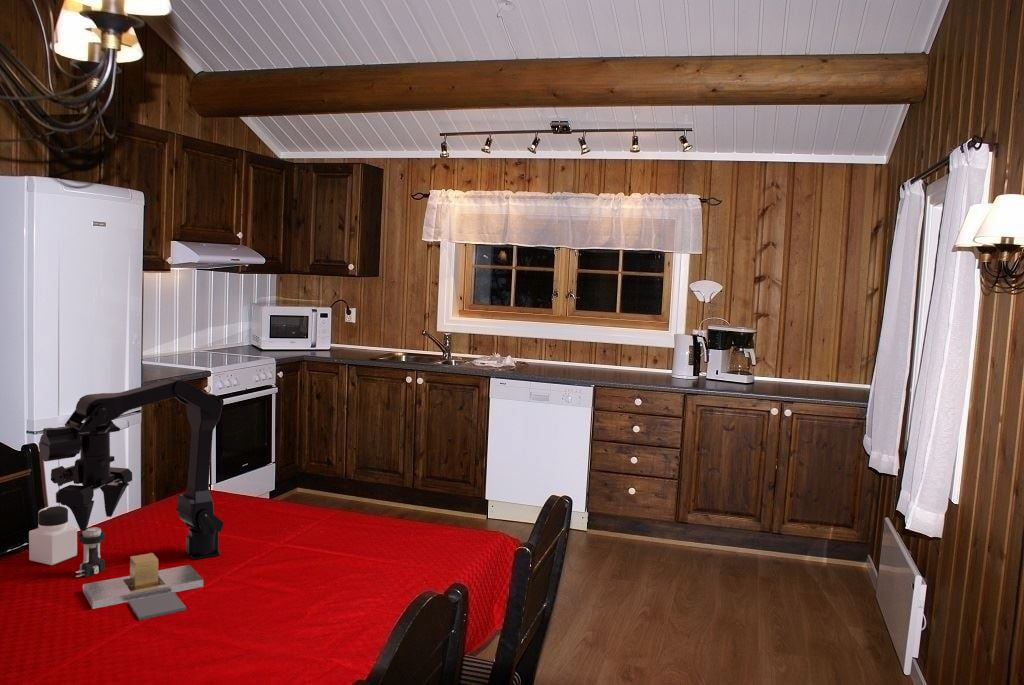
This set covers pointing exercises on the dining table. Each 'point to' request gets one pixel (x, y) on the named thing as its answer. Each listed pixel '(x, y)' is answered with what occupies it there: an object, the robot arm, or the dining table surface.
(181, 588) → the rail
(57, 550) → the medicine bottle
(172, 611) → the pad
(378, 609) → the dining table surface
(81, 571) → the push button
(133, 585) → the brass block
